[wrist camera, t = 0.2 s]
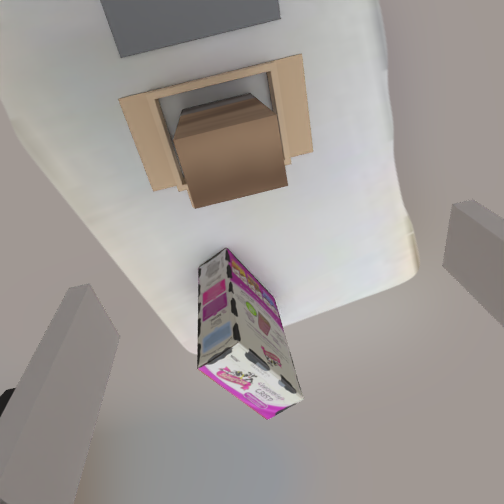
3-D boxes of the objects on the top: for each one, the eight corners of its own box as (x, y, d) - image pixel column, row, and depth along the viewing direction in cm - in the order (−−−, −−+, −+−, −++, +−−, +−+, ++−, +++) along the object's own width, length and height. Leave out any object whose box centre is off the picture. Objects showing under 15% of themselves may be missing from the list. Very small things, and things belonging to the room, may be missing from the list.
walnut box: (182, 109, 35) (172, 140, 23) (250, 93, 35) (276, 114, 23) (196, 158, 37) (195, 208, 25) (259, 142, 37) (287, 185, 25)
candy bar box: (195, 268, 44) (193, 369, 30) (226, 245, 43) (238, 340, 29) (247, 317, 49) (266, 423, 35) (276, 298, 48) (307, 400, 34)
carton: (118, 98, 33) (113, 101, 31) (301, 53, 33) (308, 53, 31) (162, 214, 40) (160, 223, 38) (315, 176, 40) (321, 183, 38)
